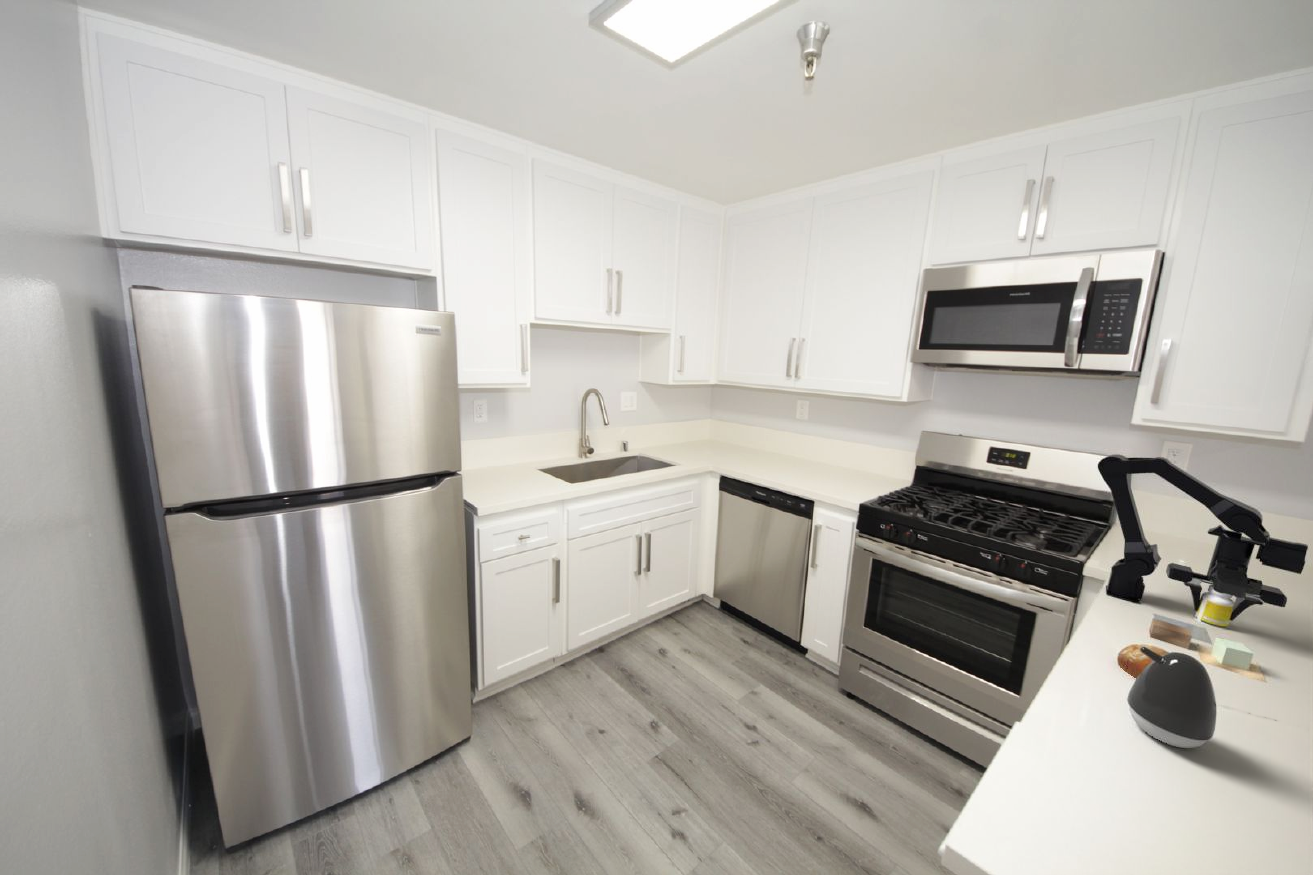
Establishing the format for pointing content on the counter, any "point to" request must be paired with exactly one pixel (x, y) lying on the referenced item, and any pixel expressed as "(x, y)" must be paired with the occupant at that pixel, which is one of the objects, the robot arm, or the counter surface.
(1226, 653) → the sage cube
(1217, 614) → the supplement bottle
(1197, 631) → the slate coaster
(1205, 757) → the counter surface
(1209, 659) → the cork coaster
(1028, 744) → the counter surface
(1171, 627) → the walnut block
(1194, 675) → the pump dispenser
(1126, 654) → the bread roll
